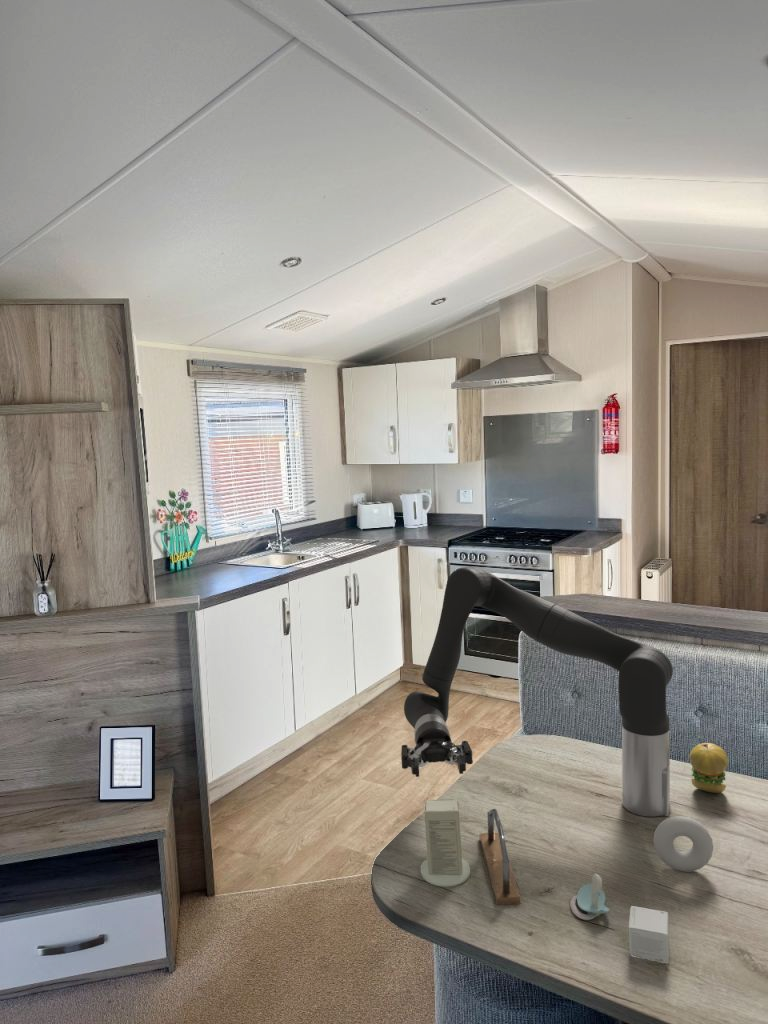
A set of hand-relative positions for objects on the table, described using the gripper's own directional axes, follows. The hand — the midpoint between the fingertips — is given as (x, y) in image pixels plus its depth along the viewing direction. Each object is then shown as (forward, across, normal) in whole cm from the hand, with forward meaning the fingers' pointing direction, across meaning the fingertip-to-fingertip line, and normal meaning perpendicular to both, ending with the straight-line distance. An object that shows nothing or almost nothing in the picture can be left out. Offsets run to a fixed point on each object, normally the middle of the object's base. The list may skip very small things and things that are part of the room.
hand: (439, 770), depth 143 cm
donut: (+13, +42, +16) cm, 46 cm away
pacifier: (+22, +22, +16) cm, 35 cm away
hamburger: (-14, +58, +16) cm, 62 cm away
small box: (+32, +28, +16) cm, 45 cm away
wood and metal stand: (+10, +9, +15) cm, 20 cm away
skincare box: (+10, -1, +14) cm, 17 cm away
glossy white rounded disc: (+10, -1, +15) cm, 18 cm away
